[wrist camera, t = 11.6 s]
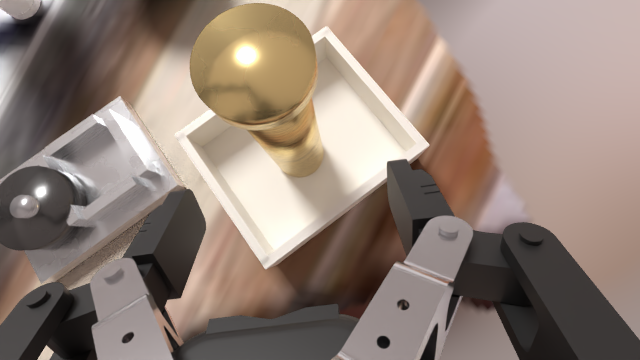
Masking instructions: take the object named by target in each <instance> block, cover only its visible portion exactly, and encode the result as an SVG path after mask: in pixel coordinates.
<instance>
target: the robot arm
mask: <svg viewBox="0 0 640 360" xmlns="http://www.w3.org/2000/svg"><path fill="white" fill-rule="evenodd" d="M387 190H388V200H389V205H390V209H391V212H392V215H393V218H394V220H395V223H396V226H397V229H398V232H399V235H400V238H401V241H402V244H403V247H404V250H405V253H406V255H407V258H406V259H405V261H404V262H403V263H402V262H400V261H397V262H396V263H395V264H394V265H393V267H392V268H391V270H390V271H389V273H388V275H387V276H386V278H385V279H384V281H383V283H382V284H381V286H380V288H379V289H378V291H377V292H376V294H375V296H374V297H373V299H372V301H371V302H370V304H369V305H368V307H367V309H366V310H365V312H364V314H363V315H362V317H361V318H360V319H358V318H355V317H352V316H349V315H344V314H340V313H339V308H338V304H331V305H323V306H315V307H306V308H303V309H300V310H298V311H295V312H292V313H289V314H287V315H284V316H281V317H278V318H275V319H263V318H256V317H248V316H241V315H240V316H232V317H224V318H216V319H209V323H208V327H207V330H206V331H204V332H202V333H200V334H198V335H196V336H194V337H193V338H191V339H189V340H188V341H186V342H185V343H183V341H182V339H181V337H180V335H179V333H178V331H177V328H176V326H175V324H174V322H173V320H172V318H171V316H170V314H169V312H168V310H167V308H166V307H165V304H166V302H167V300H169V299H177V298H181V296H182V293H183V290H184V288H185V285H186V282H187V280H188V277H189V274H190V272H191V269H192V266H193V263H194V261H195V258H196V255H197V253H198V250H199V247H200V245H201V242H202V239H203V237H204V234H205V230H206V222H205V218H204V216H203V213H202V211H201V209H200V207H199V205H198V202H197V200H196V198H195V196H194V194H193V192H192V191H191V190H190V189H186V190H179V191H172V192H170V193H169V194H168V195H167V197H166V199H165V200H164V202H163V204H162V205H159V206H158V207H157V208H156V209H155V210H153V211H152V212H151V213H150V214H149V215H148V217H147V219H146V220H145V222H144V225H143V226H142V227H141V228H140V230H139V233H137V235H136V236H135V238H134V240H133V241H132V243H131V244H130V246H129V248H128V249H127V251H126V252H125V254H124V256H123V257H122V258H121V259H117V260H114V261H112V262H110V263H108V264H106V265H105V266H103V267H102V268H101V269H100V270H99V271H98V272H96V274H95V275H94V276H93V278H92V280H91V282H90V283H88V284H86V285H83V286H80V287H78V288H75V289H72V290H69V291H68V290H67V289H66V287H65V286H64V285H63V284H61V283H59V282H52V283H48V284H45V285H42V286H40V287H38V288H36V289H35V290H33V291H31V292H30V293H29V294H27V295H26V296H25V297H24V298H23V299H21V300H20V302H19V303H18V304H17V305H16V306H15V308H14V309H13V310H12V311H11V313H10V314H9V315H8V317H7V318H6V319H5V320H4V322H3V323H2V324H1V325H0V360H37V359H38V357H39V356H40V354H41V353H42V351H43V349H44V348H45V346H46V345H47V346H48V347H49V348H50V349H51V350H52V351H54V353H53V355H52V357H51V358H50V360H440V358H441V354H442V351H443V347H444V343H445V340H446V337H447V334H448V332H449V329H450V327H451V324H452V322H453V319H454V317H455V314H456V311H457V309H458V306H459V304H460V301H461V299H462V296H465V297H472V298H478V299H484V300H490V301H492V302H493V305H494V307H495V309H496V311H497V313H498V315H499V317H500V319H501V321H502V323H503V326H504V328H505V330H506V332H507V334H508V336H509V338H510V341H511V343H512V345H513V347H514V349H515V351H516V353H517V355H518V357H519V360H640V340H639V339H638V337H637V336H636V335H635V334H634V332H633V331H632V330H631V329H630V328H629V326H628V325H627V324H626V323H625V321H624V320H623V319H622V318H621V316H619V314H618V313H617V312H616V311H615V309H614V308H613V307H612V305H611V304H610V303H609V302H608V300H606V298H605V297H604V296H603V294H602V293H601V292H600V291H599V289H598V288H597V287H596V286H595V284H594V283H593V282H592V281H591V280H590V278H589V277H588V276H587V275H586V273H585V272H584V271H583V270H582V268H581V267H580V266H579V265H578V264H577V262H576V261H575V260H574V259H573V257H572V256H571V255H570V254H569V252H568V251H567V250H566V249H565V247H564V246H563V245H562V244H561V242H560V241H559V240H558V239H557V238H556V236H555V235H554V234H553V233H551V232H550V231H549V230H547V229H545V228H543V227H541V226H538V225H536V224H532V223H524V222H522V223H514V224H511V225H509V226H507V227H506V228H505V229H504V232H503V234H495V233H485V232H479V231H475V230H472V228H471V226H470V225H469V224H468V223H467V222H465V221H464V220H462V219H460V218H457V217H455V216H454V214H453V212H452V211H451V209H450V207H449V205H448V204H447V202H446V200H445V199H444V197H443V195H442V194H441V193H440V190H439V188H438V187H437V186H436V183H435V182H434V180H433V178H432V176H431V175H429V174H428V173H426V172H425V171H423V170H422V169H419V170H412V169H411V167H410V165H409V163H408V161H407V159H400V160H393V161H387Z"/></svg>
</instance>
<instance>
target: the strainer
mask: <svg viewBox="0 0 640 360" xmlns="http://www.w3.org/2000/svg"><path fill="white" fill-rule="evenodd" d="M40 3H41V0H0V8H1V9H2V10H4V11H5V12H6V13H8V14H9V15H11V16H12V17H14V18H16V19H20V20H22V19H27V18H29V17H31V16H33V15H34V14H35V13H36V12H37V10H38V9H39V7H40Z"/></svg>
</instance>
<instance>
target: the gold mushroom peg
mask: <svg viewBox="0 0 640 360" xmlns="http://www.w3.org/2000/svg"><path fill="white" fill-rule="evenodd" d="M190 76H191V80H192V84H193V86H194V89H195V91H196V92H197V94H198V96H199V97H200V99H201V100H202V101H203V102H204V103H205V104H206V105H207V106H208V107H209V108H210V109H211V110H212V111H213V112H214V113H215V114H216V115H217V116H218V117H219V118H220V119H222V120H223V121H225V122H226V123H228V124H230V125H232V126H235V127H238V128H241V129H246V130H247V131H248V132H249V133H250V134H251V135H252V137H253V138H254V139H255V140H256V141H257V142H258V143H259V145H260V146H261V147H262V148H263V149H264V150H265V151H266V153H267V154H268V155H269V156H270V157H271V158H272V159H273V161H274V162H275V163H276V164H277V165H278V166H279V167H280V168H281V170H282V171H283V172H284V173H286V174H288V175H290V176H292V177H306V176H309V175H311V174H312V173H314V172H315V171H316V170H317V169H318V168H319V167H320V165H321V163H322V160H323V155H324V153H323V146H322V142H321V137H320V133H319V128H318V124H317V119H316V115H315V110H314V106H313V101H312V95H313V93H314V90H315V88H316V84H317V79H318V64H317V57H316V51H315V45H314V42H313V39H312V36H311V34H310V32H309V30H308V29H307V27H306V26H305V25H304V23H303V22H302V21H301V20H300V19H299V18H298V17H296V16H295V15H294V14H293V13H291V12H289V11H288V10H286V9H283V8H281V7H278V6H275V5H271V4H265V3H252V4H245V5H240V6H237V7H234V8H231V9H229V10H227V11H225V12H223V13H221V14H220V15H218V16H217V17H216V18H214V19H213V20H212V21H211V22H210V23H209V24H208V25H207V26H206V27H205V28H204V29H203V30H202V32H201V33H200V35H199V36H198V38H197V40H196V42H195V44H194V46H193V50H192V53H191V58H190Z"/></svg>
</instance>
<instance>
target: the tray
mask: <svg viewBox="0 0 640 360" xmlns="http://www.w3.org/2000/svg"><path fill="white" fill-rule="evenodd" d="M312 39H313V42H314V45H315V51H316V57H317V64H318V79H317V84H316V88H315V90H314V93H313V95H312V101H313V106H314V110H315V115H316V119H317V124H318V128H319V133H320V137H321V142H322V146H323V153H324V155H323V160H322V163H321V165H320V167H319V168H318V169H317V170H316V171H315V172H314V173H312V174H311V175H309V176H306V177H292V176H290V175H288V174H286V173H284V172H283V171H282V170H281V168H280V167H279V166H278V165H277V164H276V163H275V162H274V161H273V159H272V158H271V157H270V156H269V155H268V154H267V153H266V151H265V150H264V149H263V148H262V147H261V146H260V145H259V143H258V142H257V141H256V140H255V139H254V138H253V137H252V135H251V134H250V133H249V132H248V131H247V130H246V129H241V128H238V127H235V126H232V125H230V124H228V123H226V122H225V121H223V120H222V119H220V118H219V117H218V116H217V115H216V114H215V113H214V112H213V111H212V110H211V109H209V110H208V111H207V112H205V113H204V114H202V115H201V116H200V117H198V118H197V119H195V120H194V121H193V122H191V123H190V124H188V125H187V126H186V127H184V128H183V129H181V130H180V131H179V132H177V133H176V134H174V135H175V137H176V138H177V140H178V141H179V143H180V144H181V146H182V147H183V149H184V150H185V152H186V153H187V154H188V156H189V157H190V159H191V160H192V162H193V163H194V165H195V166H196V168H197V169H198V171H199V172H200V174H201V175H202V177H203V178H204V180H205V181H206V182H207V184H208V185H209V187H210V188H211V190H212V191H213V193H214V194H215V196H216V197H217V199H218V200H219V202H220V203H221V205H222V206H223V208H224V209H225V211H226V212H227V213H228V215H229V216H230V218H231V219H232V221H233V222H234V224H235V225H236V227H237V228H238V230H239V231H240V233H241V234H242V236H243V237H244V239H245V240H246V241H247V243H248V244H249V246H250V247H251V249H252V250H253V252H254V253H255V255H256V256H257V258H258V259H259V261H260V262H261V264H262V265H263V267H264V268H265V269H268V268H270V267H273V266H276V265H277V264H279V263H280V262H281V261H283V260H284V259H285V258H287V257H288V256H289V255H291V254H292V253H293V252H295V251H296V250H297V249H299V248H300V247H301V246H303V245H304V244H305V243H306V242H308V241H309V240H310V239H312V238H313V237H314V236H316V235H317V234H318V233H320V232H321V231H322V230H324V229H325V228H326V227H328V226H329V225H330V224H332V223H333V222H334V221H336V220H337V219H338V218H340V217H341V216H342V215H343V214H345V213H346V212H347V211H349V210H350V209H351V208H353V207H354V206H355V205H357V204H358V203H359V202H361V201H362V200H363V199H365V198H366V197H367V196H369V195H370V194H371V193H373V192H374V191H375V190H376V189H378V188H379V187H380V186H382V185H383V184H384V183H386V182H387V161H393V160H400V159H407V161H408V163H409V165H410V164H411V163H412V162H413V161H415V160H416V159H417V158H418V157H419V156H420V155H421V154H422V153H423V152H424V151H425V150H426V149H427V148H428V146H429V144H428V143H427V141H426V140H425V139H424V138H423V137H422V136H421V134H420V133H419V132H418V131H417V130H416V129H415V128H414V126H413V125H412V124H411V123H410V122H409V121H408V119H407V118H406V117H405V116H404V115H403V114H402V112H401V111H400V110H399V109H398V108H397V107H396V106H395V104H394V103H393V102H392V101H391V100H390V99H389V97H388V96H387V95H386V94H385V93H384V92H383V91H382V89H381V88H380V87H379V86H378V85H377V84H376V82H375V81H374V80H373V79H372V78H371V77H370V75H369V74H368V73H367V72H366V71H365V70H364V69H363V67H362V66H361V65H360V64H359V63H358V62H357V60H356V59H355V58H354V57H353V56H352V55H351V54H350V52H349V51H348V50H347V49H346V48H345V47H344V45H343V44H342V43H341V42H340V41H339V40H338V38H337V37H336V36H335V35H334V34H333V33H332V32H331V30H330V29H329V28H328V27H327V26H325V27H324V28H323V29H321V30H320V31H318V32H317V33H316V34H314V35H313V36H312Z"/></svg>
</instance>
